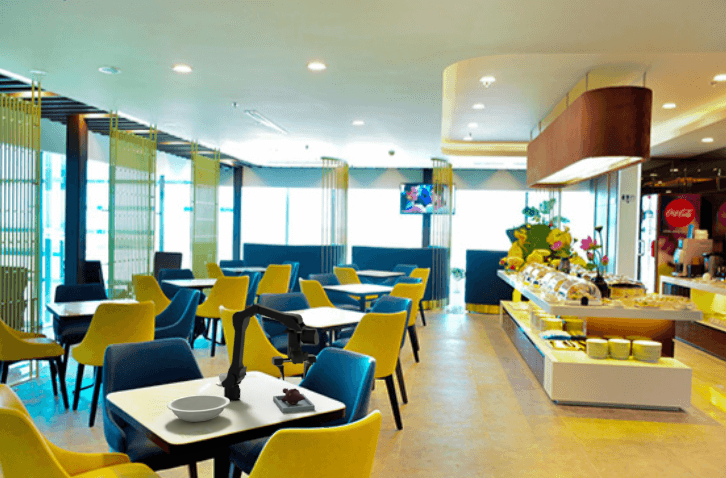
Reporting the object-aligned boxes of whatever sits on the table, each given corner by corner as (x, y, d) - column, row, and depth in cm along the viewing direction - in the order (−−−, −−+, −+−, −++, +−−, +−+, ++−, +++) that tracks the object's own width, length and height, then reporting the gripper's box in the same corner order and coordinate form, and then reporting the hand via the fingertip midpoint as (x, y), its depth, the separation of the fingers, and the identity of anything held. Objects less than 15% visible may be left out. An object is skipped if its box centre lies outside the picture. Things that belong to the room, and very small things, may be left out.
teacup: (218, 387, 276) (218, 377, 276) (214, 382, 285) (214, 373, 285) (238, 385, 280) (239, 375, 280) (234, 380, 289) (234, 371, 289)
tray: (282, 413, 235) (282, 408, 235) (273, 400, 253) (273, 396, 253) (314, 410, 240) (314, 405, 240) (302, 398, 258) (302, 393, 258)
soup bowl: (214, 406, 243) (214, 391, 243) (240, 421, 224) (240, 404, 224) (157, 417, 228) (158, 400, 228) (180, 433, 209) (180, 415, 209)
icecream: (312, 390, 245) (290, 387, 255) (299, 389, 240) (277, 385, 250) (310, 407, 243) (287, 403, 253) (297, 406, 238) (274, 402, 248)
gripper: (277, 348, 236) (276, 385, 236) (320, 345, 242) (320, 382, 242) (271, 343, 246) (271, 379, 246) (313, 341, 253) (312, 376, 253)
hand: (294, 379), depth 247 cm, fingers open, 9 cm apart
